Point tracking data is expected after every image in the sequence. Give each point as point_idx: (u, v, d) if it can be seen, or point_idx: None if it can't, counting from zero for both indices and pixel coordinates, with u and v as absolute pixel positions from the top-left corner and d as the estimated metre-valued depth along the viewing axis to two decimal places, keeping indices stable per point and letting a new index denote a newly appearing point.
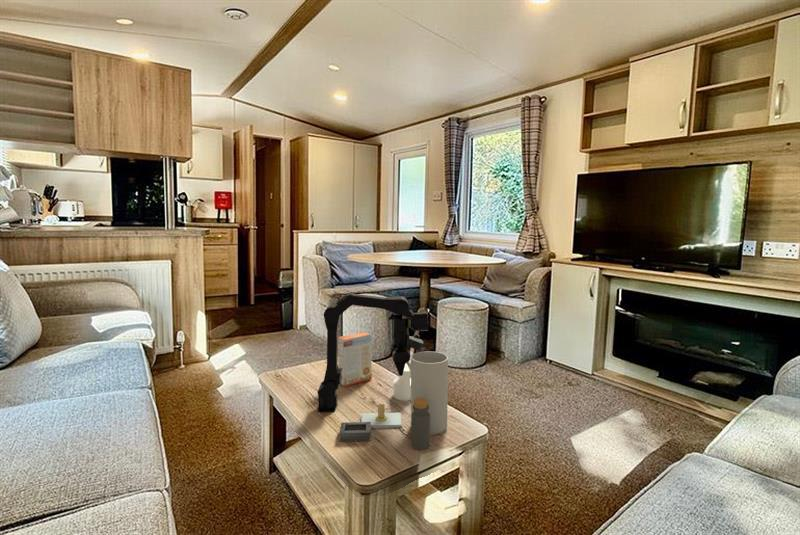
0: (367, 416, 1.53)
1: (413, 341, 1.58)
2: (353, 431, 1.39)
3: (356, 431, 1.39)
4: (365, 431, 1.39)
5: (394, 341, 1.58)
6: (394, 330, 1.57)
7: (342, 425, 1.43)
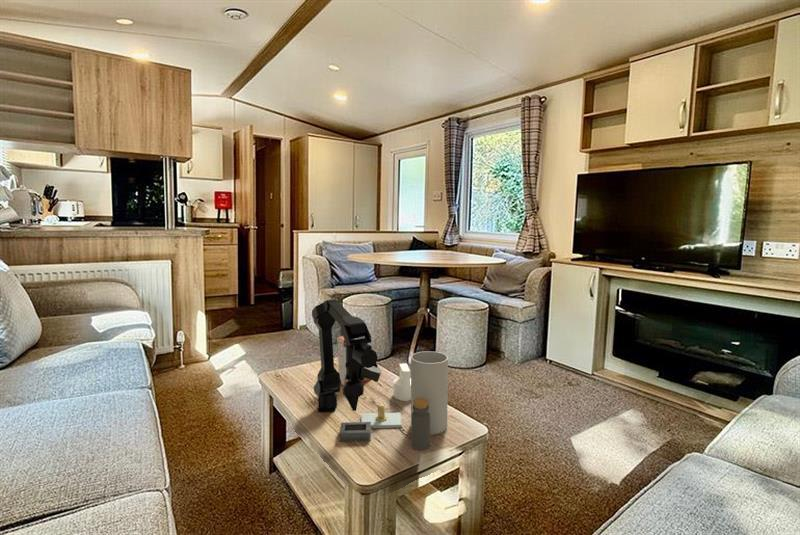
0: (367, 416, 1.53)
1: (369, 371, 1.37)
2: (353, 431, 1.39)
3: (356, 431, 1.39)
4: (365, 431, 1.39)
5: (347, 371, 1.38)
6: None
7: (342, 425, 1.43)
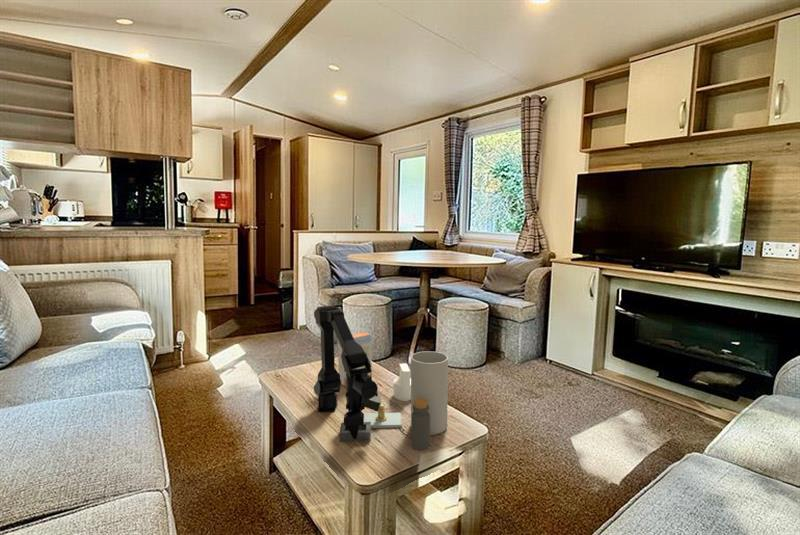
0: (367, 416, 1.53)
1: (369, 400, 1.38)
2: None
3: None
4: (365, 431, 1.39)
5: (347, 400, 1.39)
6: None
7: (342, 425, 1.43)
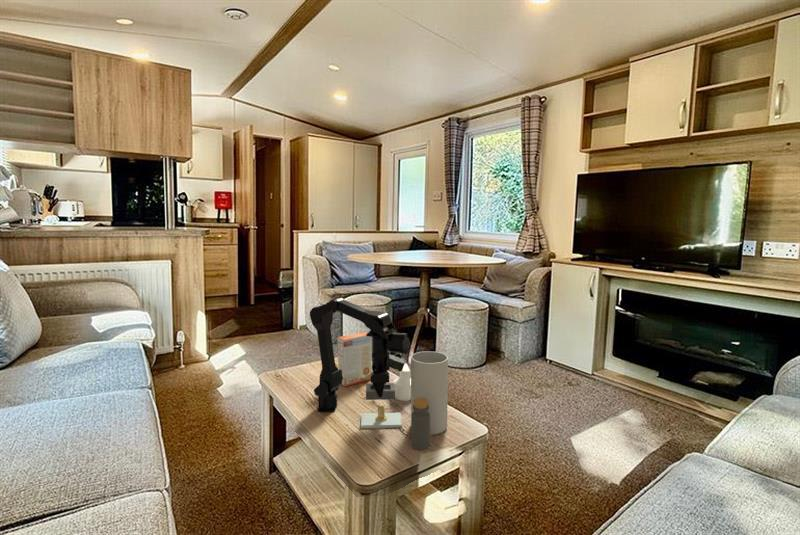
0: (367, 416, 1.53)
1: (393, 361, 1.46)
2: None
3: None
4: (390, 390, 1.47)
5: (373, 361, 1.47)
6: (372, 348, 1.48)
7: (368, 385, 1.51)
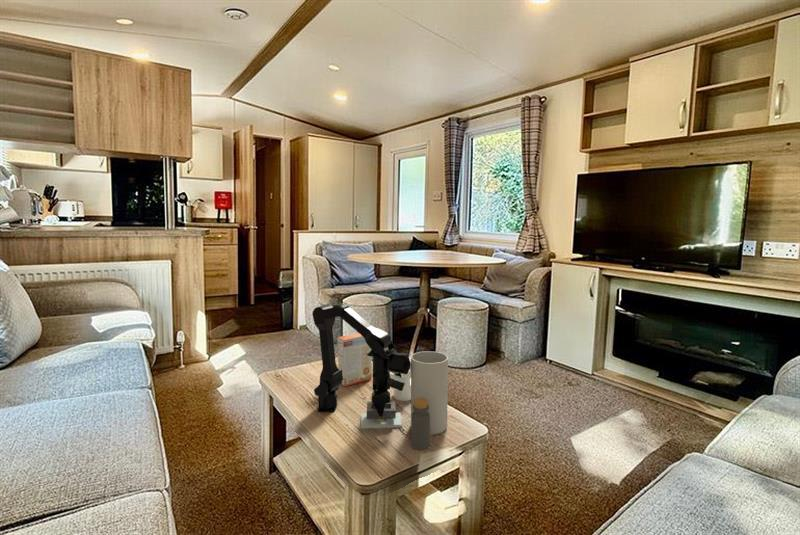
0: None
1: (394, 381, 1.48)
2: None
3: None
4: (390, 409, 1.48)
5: (374, 381, 1.48)
6: None
7: (368, 404, 1.52)
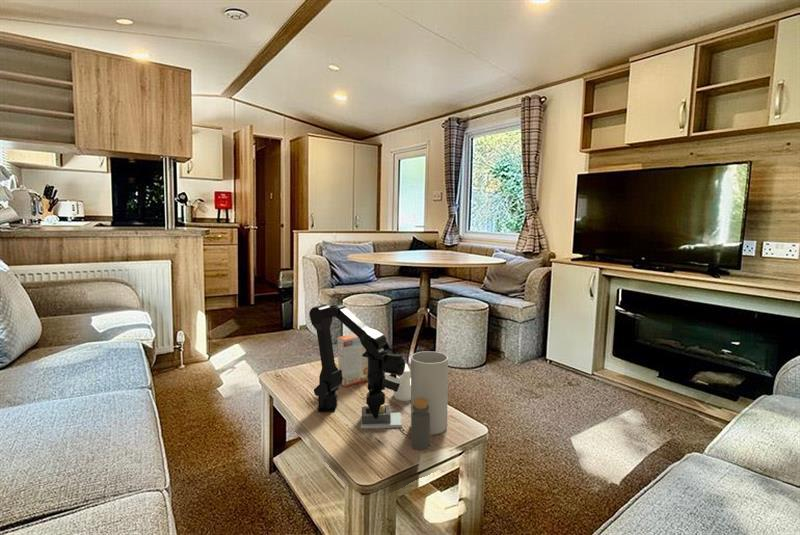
0: None
1: (389, 381, 1.48)
2: None
3: None
4: (385, 413, 1.48)
5: (369, 381, 1.48)
6: None
7: (363, 409, 1.52)
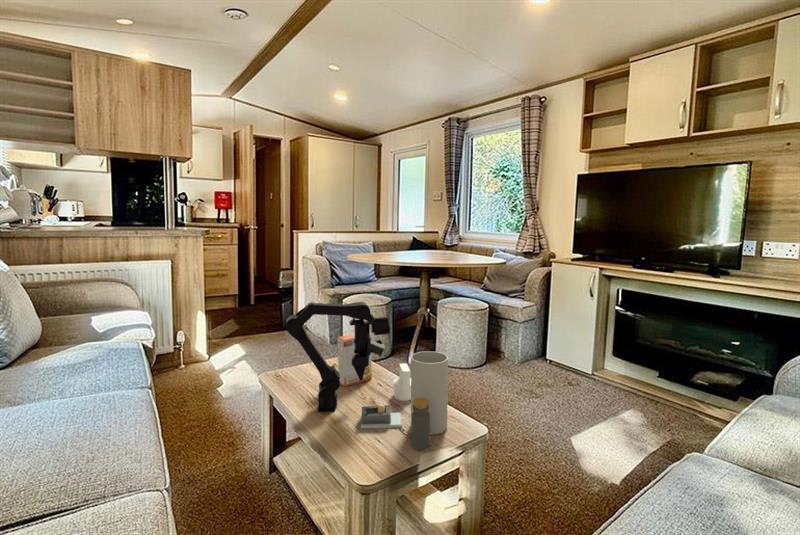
0: None
1: (374, 346, 1.60)
2: (374, 414, 1.48)
3: (377, 414, 1.48)
4: (385, 413, 1.48)
5: (355, 346, 1.60)
6: (356, 335, 1.59)
7: (363, 409, 1.52)
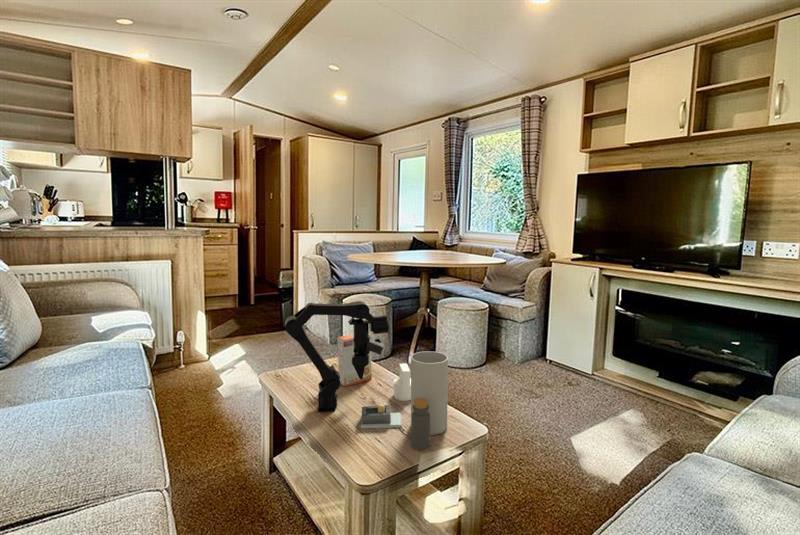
0: None
1: (373, 345, 1.61)
2: (374, 414, 1.48)
3: (377, 414, 1.48)
4: (385, 413, 1.48)
5: (354, 345, 1.61)
6: (355, 335, 1.60)
7: (363, 409, 1.52)
